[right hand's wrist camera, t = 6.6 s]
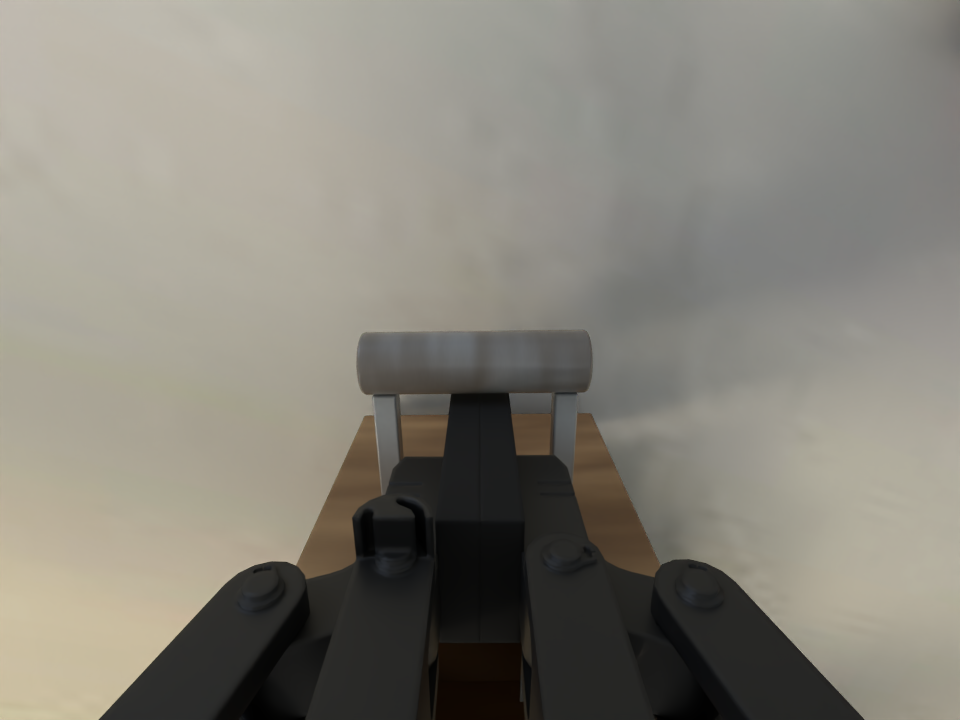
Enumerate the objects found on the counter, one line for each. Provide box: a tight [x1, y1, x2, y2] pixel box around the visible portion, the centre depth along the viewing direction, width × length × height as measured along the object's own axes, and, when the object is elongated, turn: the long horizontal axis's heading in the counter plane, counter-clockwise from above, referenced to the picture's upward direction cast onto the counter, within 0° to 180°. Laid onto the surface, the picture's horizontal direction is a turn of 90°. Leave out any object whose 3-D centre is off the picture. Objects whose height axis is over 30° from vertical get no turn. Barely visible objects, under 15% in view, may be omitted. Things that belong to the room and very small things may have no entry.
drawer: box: [296, 330, 661, 720], centre depth 18 cm, size 21×10×10 cm, turn 1°
